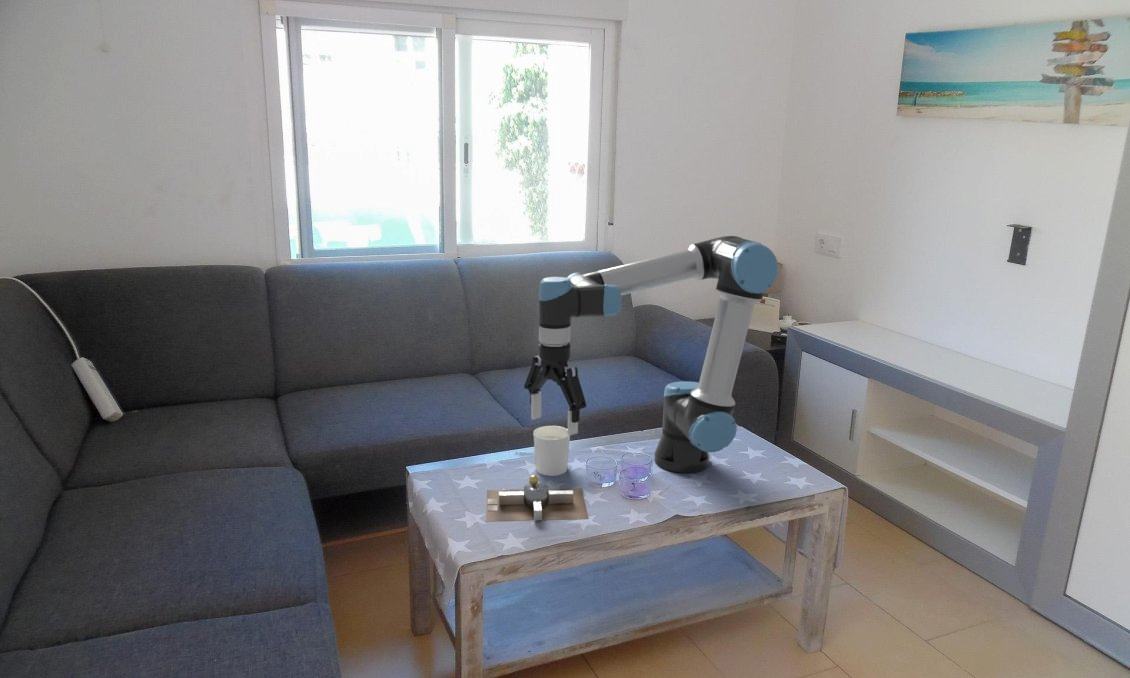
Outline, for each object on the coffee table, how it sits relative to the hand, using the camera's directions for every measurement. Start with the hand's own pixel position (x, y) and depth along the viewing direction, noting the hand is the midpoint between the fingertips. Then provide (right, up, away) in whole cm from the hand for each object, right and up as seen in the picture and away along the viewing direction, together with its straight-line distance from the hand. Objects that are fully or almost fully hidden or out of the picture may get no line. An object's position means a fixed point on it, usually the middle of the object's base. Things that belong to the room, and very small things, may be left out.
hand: (554, 426), depth 190 cm
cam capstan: (-4, -19, -1) cm, 19 cm away
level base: (-4, -20, -1) cm, 21 cm away
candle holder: (-1, -15, +19) cm, 24 cm away
